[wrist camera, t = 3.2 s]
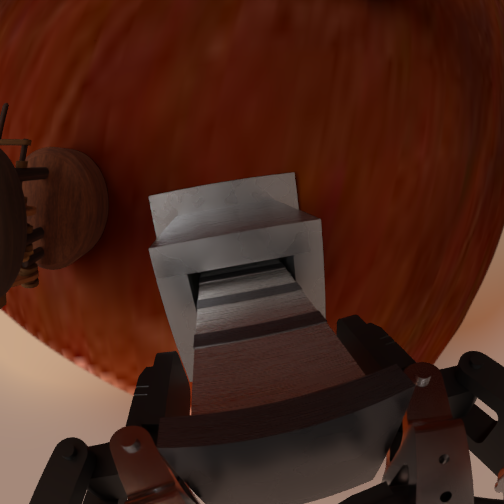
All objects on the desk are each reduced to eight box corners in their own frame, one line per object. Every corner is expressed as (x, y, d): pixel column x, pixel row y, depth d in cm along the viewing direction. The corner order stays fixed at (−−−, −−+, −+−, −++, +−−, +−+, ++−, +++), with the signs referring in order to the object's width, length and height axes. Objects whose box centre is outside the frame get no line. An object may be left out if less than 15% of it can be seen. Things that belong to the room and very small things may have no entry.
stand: (151, 195, 21) (89, 219, 10) (291, 172, 22) (367, 173, 11) (181, 321, 25) (167, 419, 13) (303, 298, 26) (361, 380, 14)
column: (197, 231, 21) (156, 448, 4) (258, 220, 22) (415, 385, 4) (209, 287, 23) (219, 516, 5) (266, 277, 23) (372, 479, 6)
